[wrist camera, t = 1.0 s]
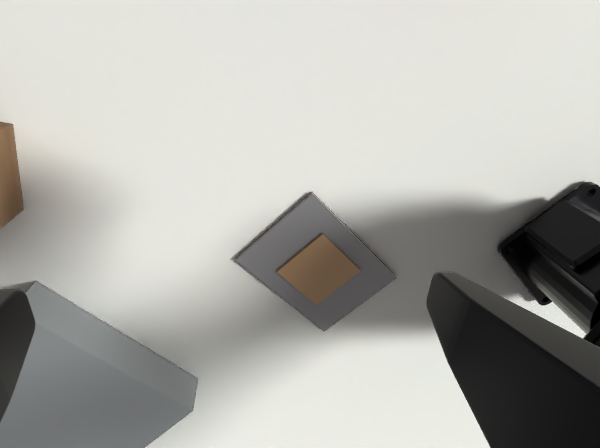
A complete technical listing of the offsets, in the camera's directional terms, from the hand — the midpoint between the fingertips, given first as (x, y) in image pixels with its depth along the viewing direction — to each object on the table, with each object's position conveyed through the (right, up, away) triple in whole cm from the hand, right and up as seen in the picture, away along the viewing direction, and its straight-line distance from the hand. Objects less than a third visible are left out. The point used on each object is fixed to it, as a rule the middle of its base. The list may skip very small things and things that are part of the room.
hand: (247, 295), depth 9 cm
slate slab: (-14, -9, +17) cm, 24 cm away
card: (+2, -1, +15) cm, 15 cm away
